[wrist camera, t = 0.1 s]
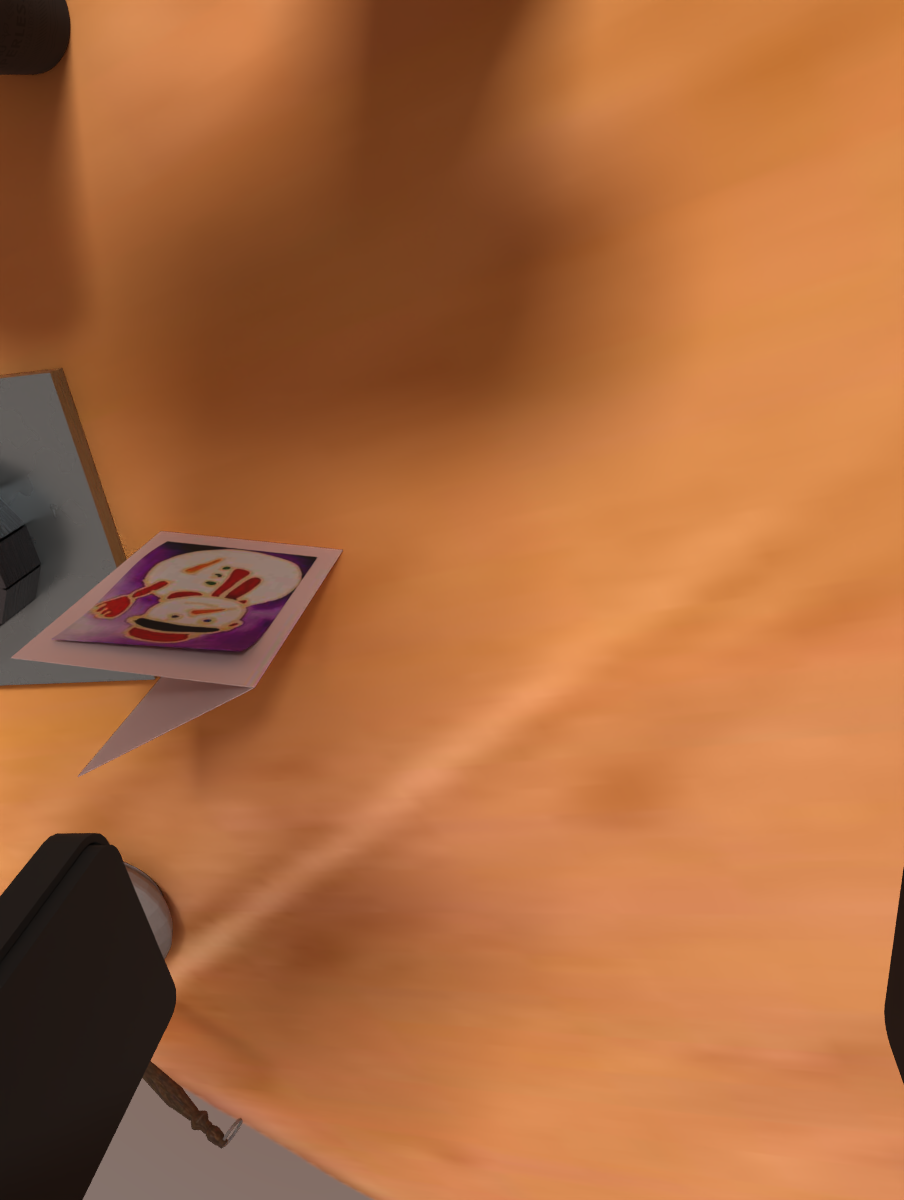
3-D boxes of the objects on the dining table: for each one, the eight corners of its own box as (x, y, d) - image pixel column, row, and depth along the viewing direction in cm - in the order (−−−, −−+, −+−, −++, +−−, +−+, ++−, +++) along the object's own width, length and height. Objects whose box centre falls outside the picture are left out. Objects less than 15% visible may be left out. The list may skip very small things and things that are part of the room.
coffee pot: (44, 914, 69) (-83, 1090, 56) (57, 820, 63) (-80, 990, 50) (284, 1000, 70) (215, 1193, 56) (318, 914, 64) (250, 1105, 51)
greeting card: (342, 536, 49) (253, 670, 36) (344, 644, 52) (263, 802, 39) (159, 517, 50) (7, 641, 37) (172, 624, 54) (38, 771, 40)
